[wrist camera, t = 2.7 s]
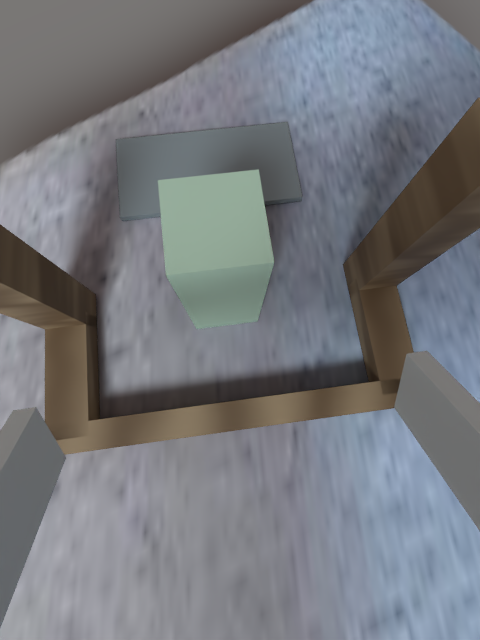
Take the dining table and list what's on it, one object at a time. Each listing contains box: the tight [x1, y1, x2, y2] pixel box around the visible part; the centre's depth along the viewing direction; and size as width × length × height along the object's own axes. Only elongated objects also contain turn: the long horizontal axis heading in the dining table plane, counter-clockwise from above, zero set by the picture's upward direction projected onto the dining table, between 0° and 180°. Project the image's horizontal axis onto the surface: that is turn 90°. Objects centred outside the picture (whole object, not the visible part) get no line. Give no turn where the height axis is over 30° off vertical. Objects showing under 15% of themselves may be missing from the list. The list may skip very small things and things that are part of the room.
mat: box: [116, 122, 302, 221], centre depth 30 cm, size 16×8×1 cm, turn 98°
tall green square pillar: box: [158, 169, 274, 329], centre depth 21 cm, size 5×5×12 cm
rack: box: [0, 98, 480, 455], centre depth 18 cm, size 27×12×16 cm, turn 98°
